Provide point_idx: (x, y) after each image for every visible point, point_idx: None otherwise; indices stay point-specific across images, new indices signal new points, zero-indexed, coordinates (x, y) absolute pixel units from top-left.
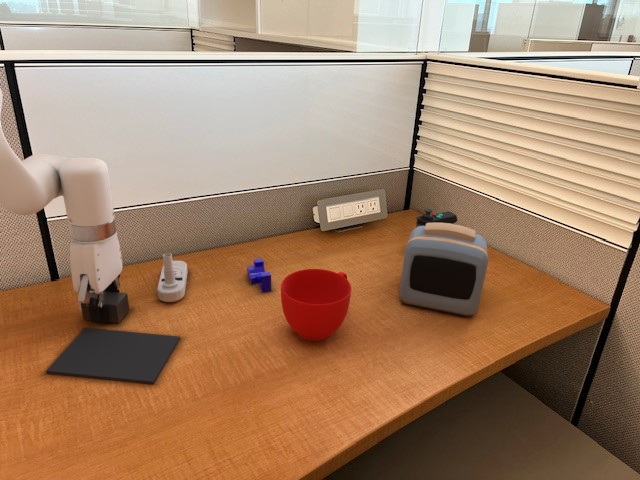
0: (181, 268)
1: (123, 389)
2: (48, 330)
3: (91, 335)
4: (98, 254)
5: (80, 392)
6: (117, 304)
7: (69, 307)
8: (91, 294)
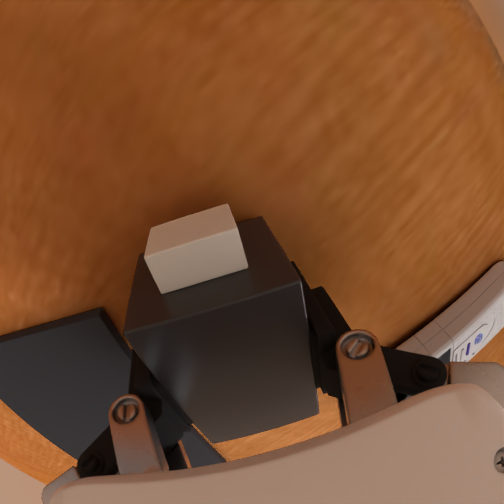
0: (490, 336)
1: (67, 455)
2: (12, 168)
3: (89, 362)
4: None
5: (8, 418)
6: (222, 440)
7: (207, 70)
8: (159, 454)
